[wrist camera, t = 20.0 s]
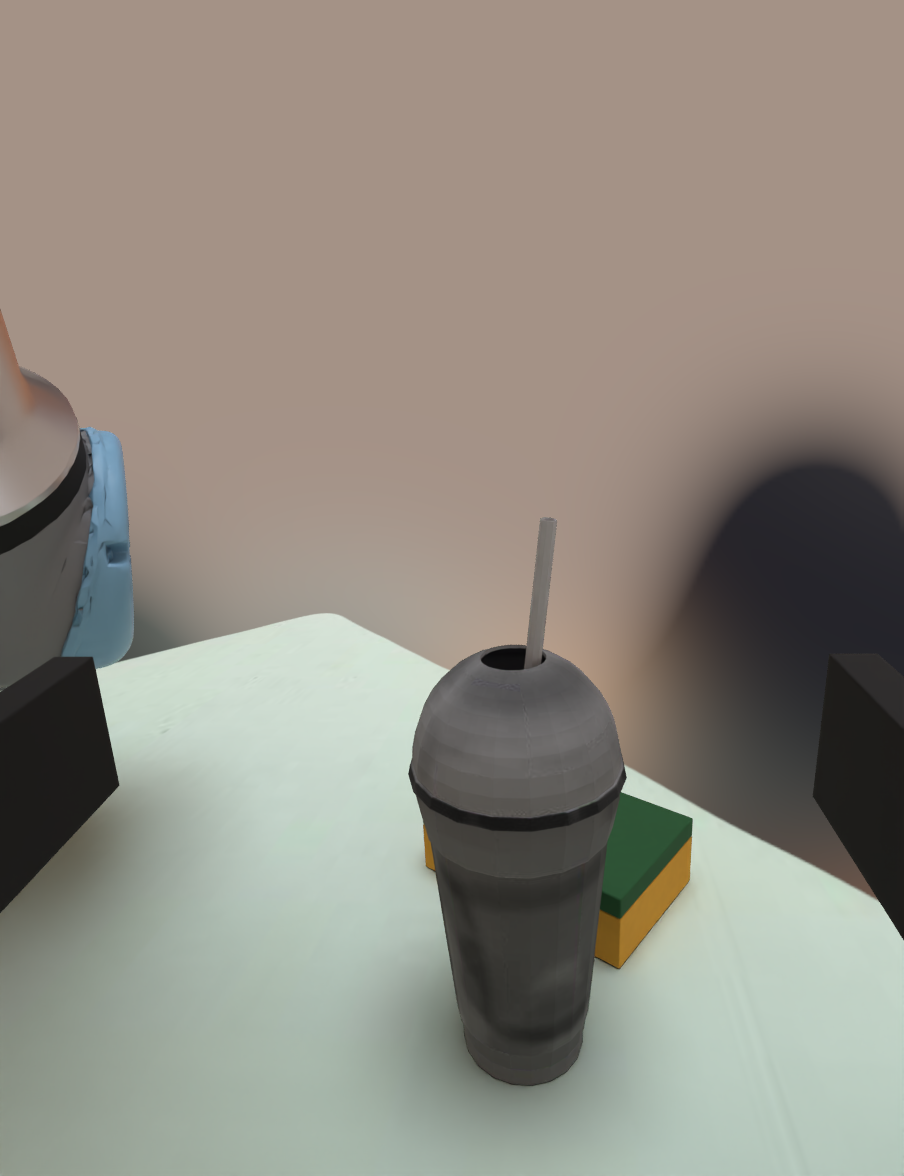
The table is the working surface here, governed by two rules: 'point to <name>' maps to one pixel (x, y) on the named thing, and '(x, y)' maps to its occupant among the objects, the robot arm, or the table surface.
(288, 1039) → the table surface
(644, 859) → the sponge
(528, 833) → the beverage cup
